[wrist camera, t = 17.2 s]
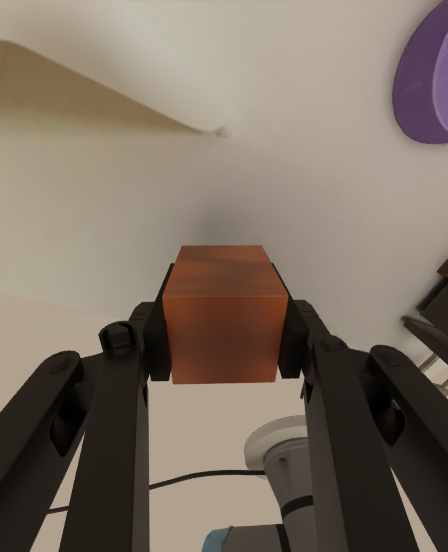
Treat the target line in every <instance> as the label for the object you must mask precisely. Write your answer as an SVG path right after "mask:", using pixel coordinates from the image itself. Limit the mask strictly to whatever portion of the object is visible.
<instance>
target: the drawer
mask: <svg viewBox="0 0 448 552" xmlns="http://www.w3.org/2000/svg"><path fill="white" fill-rule="evenodd" d="M420 315H422V316H423V317H424V318H425V319H427V320H428V321H429V322H431V323H432V324H433V325H434V326H436V327H437V328H438V329H437V328H434V327H431V326H429V325H426V324H423V323H420V322H417V321H414V320H411V319H408V320H407V321H406V322H405V323H404V324H403V325H404V326H405V327H406V328H407V329H408V330H409V331H411V332H412V333H413V334H414V335H415V336H416V337H417V338H418V339H419V340H421V341H422V342H423V343H424V344H425V345H426V346H427V347H428V348H429V349H431V350H432V351H433V352H434V353H433V354H432V355H431V356H430V357H429V358H428V359H427V360H426V361H425V362H424V363H423V364H422V365H421V366H420V367H419V369H420V371H421V372H422V373H424V372H425V371H426V370H427V369H428V368H429V367H430V366H432V365H433V364H434V363H435V362H436V361H437V360H438V359H439V358H441V359H442V360H443V361H444V362H445V363H446V364H447V365H448V284H447V285H446V286H445V287H444V288H443V289H442V290H441V291H440V293H439V294H438V295H437V296H436V297H435V298H434V299H433V300H432V301H431V302H430V304H429V305H428V306H427V307H426V308H425V309H424V310H423V311H422V312H421V313H420ZM433 384H434V385H435V386H436V387H437V388H438V389H439V390H440V392H441V393H442V394H443V395H444V396H445V397H446V396H447V395H448V390H447V389H448V379H447V380H446V381H445V382H444V383H443V384H442V385H438V384H435V383H433Z"/></svg>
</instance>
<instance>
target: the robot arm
mask: <svg viewBox="0 0 448 552" xmlns="http://www.w3.org/2000/svg"><path fill="white" fill-rule="evenodd" d="M174 264H175V263H171V264H170V267H169V269H168V272H167V274H166V276H165V279H164V281H163V284H162V286H161V288H160V291H159V293H158V295H157V298H156V300H155V302H141V303H140V304H139V305H138V306H136V307H135V309H134V311H133V313H132V315H131V316H130V318H129V321H118V322H114V323H111V324H109V325H107V326H105V327H104V328H103V329H102V330H101V331H100V333H99V334H98V335H99V339H100V342H101V346H102V349H103V352H102V353H99V354H96V355H93V356H88V357H84V358H80V355H79V353H77V352H76V351H70V350H69V351H62V352H59V353H57V354H54V355H52V356H50V357H49V358H47V359H46V360H44V362H42V363H41V364H40V365H39V367H38V368H37V369H36V370H35V371H34V373H33V374H32V375H31V376H30V377H29V379H28V380H27V381H26V382H25V383H24V385H23V386H22V387H21V388H20V389H19V391H18V392H17V393H16V394H15V395H14V397H13V398H12V399H11V400H10V401H9V403H8V404H7V405H6V406H5V407H4V409H3V410H2V411H1V412H0V552H30V549H31V547H32V545H33V543H34V541H35V538H36V537H37V534H38V532H39V530H40V528H41V526H42V524H43V521H44V519H45V517H46V515H47V514H51V513H56V512H62V511H67V510H68V512H67V516H66V521H65V525H64V529H63V534H62V538H61V543H60V548H59V552H150V551H149V490H151V489H155V488H158V487H162V486H166V485H170V484H173V483H176V482H180V481H184V480H187V479H192V478H197V477H204V476H214V475H266V476H267V479H268V481H269V483H270V486H271V487H272V490H273V492H274V495H275V497H276V499H277V502H278V504H279V507H280V511H281V516H282V521H283V524H273V525H259V526H242V527H233V526H229V527H228V528H224V529H217V530H213V531H211V532H210V533H209V534H208V535H207V537H206V539H205V542H204V544H203V548H202V552H420V551H419V548H418V546H417V542H416V540H415V537H414V534H413V531H412V528H411V525H410V522H409V520H408V517H407V514H406V511H405V508H404V505H403V503H402V500H401V497H400V494H399V491H398V488H397V486H396V482H395V480H394V477H393V474H392V471H391V468H392V470H393V472H394V474H395V475H396V477H397V479H398V481H399V482H400V484H401V486H402V488H403V490H404V491H405V493H406V495H407V497H408V498H409V501H410V502H411V504H412V506H413V508H414V509H415V511H416V513H417V515H418V517H419V519H420V520H421V522H422V524H423V526H424V527H425V529H426V531H427V533H428V535H429V536H430V538H431V540H432V542H433V543H434V545H435V547H436V549H437V551H438V552H448V399H447V398H446V397H445V396H444V395H443V394H442V393H441V392H440V390H439V389H438V388H437V387H436V386H435V385H434V384H433V383H432V382H431V381H430V380H429V379H428V378H427V377H426V376H425V375H424V374H423V373H422V372H421V371H420V369H419V368H418V367H417V366H416V365H415V364H414V363H413V362H412V361H411V360H410V359H409V358H408V357H407V356H406V355H405V354H403V353H402V352H401V351H399V350H397V349H395V348H393V347H390V346H387V345H375V346H373V347H372V348H371V350H370V352H369V353H368V352H363V351H358V350H354V349H350V348H348V346H347V345H346V343H345V342H344V341H343V340H341V339H340V338H338V337H336V336H333V335H331V334H330V333H329V331H328V330H327V328H326V326H325V325H324V323H323V322H322V320H321V319H320V318H319V316H318V314H317V313H316V311H315V310H314V308H313V307H312V305H311V304H309V303H308V302H306V301H305V300H293V298H292V296H291V295H290V293H289V291H288V289H287V287H286V286H285V284H284V282H283V280H282V278H281V276H280V275H279V273H278V271H277V269H276V267H275V266H274V264H273V263H271V264H272V266H273V267H274V269H275V271H276V273H277V275H278V277H279V279H280V280H281V282H282V284H283V286H284V288H285V290H286V292H287V294H288V303H287V309H286V315H285V322H284V328H283V334H282V341H281V347H280V354H279V360H278V366H279V370H280V373H281V376H282V379H290V378H299V376H300V372H301V370H302V372H303V375H304V377H305V378H304V383H303V387H302V391H301V396H300V398H302V399H303V396H304V403H305V413H306V425H307V436H308V437H300V438H292V439H288V440H285V441H282V442H280V443H277V444H275V445H274V446H272V447H271V448H270V449H269V450H267V452H266V453H265V454H264V457H263V465H264V470H218V471H206V472H199V473H193V474H189V475H185V476H181V477H178V478H174V479H171V480H167V481H163V482H160V483H156V484H153V485H149V431H148V430H149V424H148V423H149V421H148V419H149V418H148V386H147V380H148V377H149V374H150V377H151V381H169V377H170V372H171V368H172V365H171V356H170V348H169V340H168V332H167V324H166V319H165V317H164V309H163V301H162V296H163V293H164V290H165V288H166V285H167V283H168V280H169V277H170V275H171V272H172V270H173V267H174ZM394 401H395V402H394ZM395 403H396V404H397V405H398V406H397V405H396V404H395ZM84 433H85V435H84ZM83 435H84V440H83V444H82V449H81V453H80V458H79V463H78V467H77V471H76V476H75V480H74V485H73V489H72V494H71V498H70V503H69V506H65V507H60V508H55V509H49V508H50V506H51V504H52V502H53V500H54V497H55V495H56V493H57V491H58V489H59V487H60V484H61V483H62V480H63V478H64V476H65V473H66V472H67V470H68V467H69V465H70V463H71V461H72V459H73V457H74V454H75V452H76V450H77V448H78V446H79V443H80V441H81V439H82V437H83ZM390 467H391V468H390Z"/></svg>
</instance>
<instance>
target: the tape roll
mask: <svg viewBox="0 0 448 552" xmlns="http://www.w3.org/2000/svg"><path fill="white" fill-rule="evenodd" d="M393 105H394V111H395V115H396V118H397V121H398V123H399V125H400V127H401V128H402V130H403V131H404V132H405V133H406V134H407V135H408V136H409V137H411V138H412V139H414V140H416V141H419V142H421V143H426V144H442V143H448V0H444V1H443V2H442V3H441V4H439V5H438V6H437V7H436V8H435V9H434V10H433V11H432V12H431V13H430V14H429V15H428V16H427V17H426V19H425V20H424V21H423V22H422V24H421V25H420V26H419V28H418V29H417V30H416V32H415V33H414V35H413V36H412V38H411V40H410V41H409V43H408V45H407V47H406V49H405V51H404V53H403V56H402V58H401V60H400V63H399V66H398V70H397V73H396V77H395V83H394V89H393Z"/></svg>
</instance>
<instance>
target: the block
mask: <svg viewBox="0 0 448 552" xmlns="http://www.w3.org/2000/svg"><path fill="white" fill-rule="evenodd" d="M162 301H163V309H164V317H165V319H166V324H167V332H168V340H169V348H170V356H171V365H172V368H171V372H172V380H173V384H213V383H214V384H215V383H260V382H262V383H263V382H275V379H276V372H277V366H278V360H279V354H280V347H281V341H282V334H283V328H284V322H285V315H286V309H287V303H288V294H287V292H286V290H285V288H284V286H283V284H282V282H281V280H280V279H279V277H278V275H277V273H276V271H275V269H274V267H273V266H272V264H271V262H270V260H269V258H268V256H267V254H266V252H265V251H264V249H263V247H262V246H181V249H180V251H179V254H178V257H177V259H176V262H175V264H174V267H173V270H172V272H171V275H170V277H169V280H168V283H167V285H166V288H165V290H164V293H163V296H162Z"/></svg>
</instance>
